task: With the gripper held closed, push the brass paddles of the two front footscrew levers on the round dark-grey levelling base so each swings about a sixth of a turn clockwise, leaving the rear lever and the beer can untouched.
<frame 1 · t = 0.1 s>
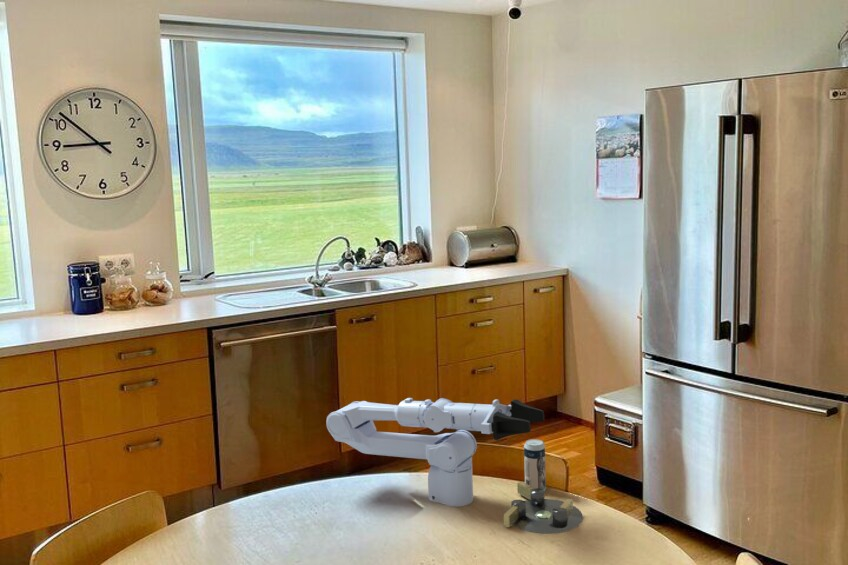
hand: (536, 421, 156), 22 cm above the table, tool horizontal, fingers open, 7 cm apart
rear lever: (530, 493, 166), point 3 cm above the table, hinge at 0.0°
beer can: (535, 493, 172), on the table
outer lever: (563, 512, 156), point 3 cm above the table, hinge at 0.0°
base plate: (543, 520, 159), on the table
inner lever: (514, 513, 156), point 3 cm above the table, hinge at 0.0°
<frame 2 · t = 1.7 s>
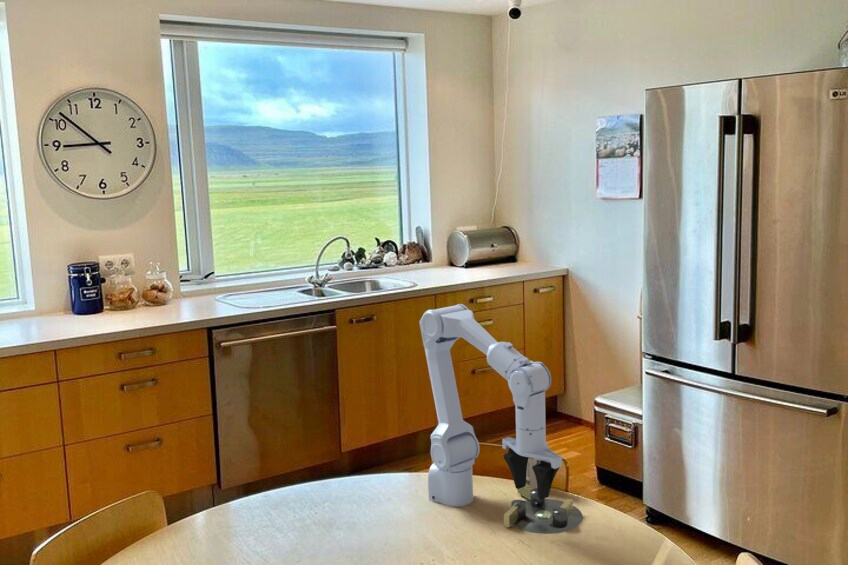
hand: (532, 492, 149), 10 cm above the table, tool pointing down, fingers open, 6 cm apart
nothing on the table moved.
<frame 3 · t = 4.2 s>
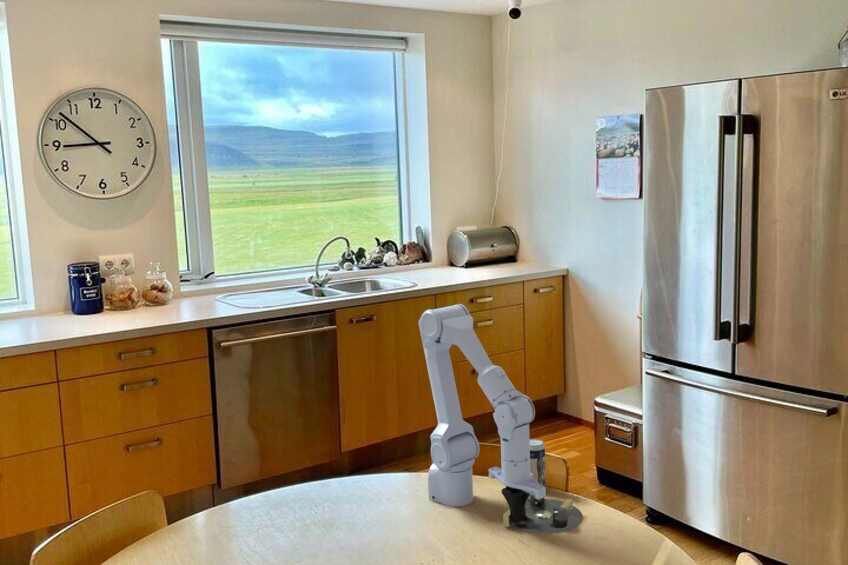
hand: (517, 521, 154), 2 cm above the table, tool pointing down, fingers closed, pressing on inner lever
inner lever: (513, 513, 156), point 3 cm above the table, hinge at -1.1°, touching gripper
everything else where it was.
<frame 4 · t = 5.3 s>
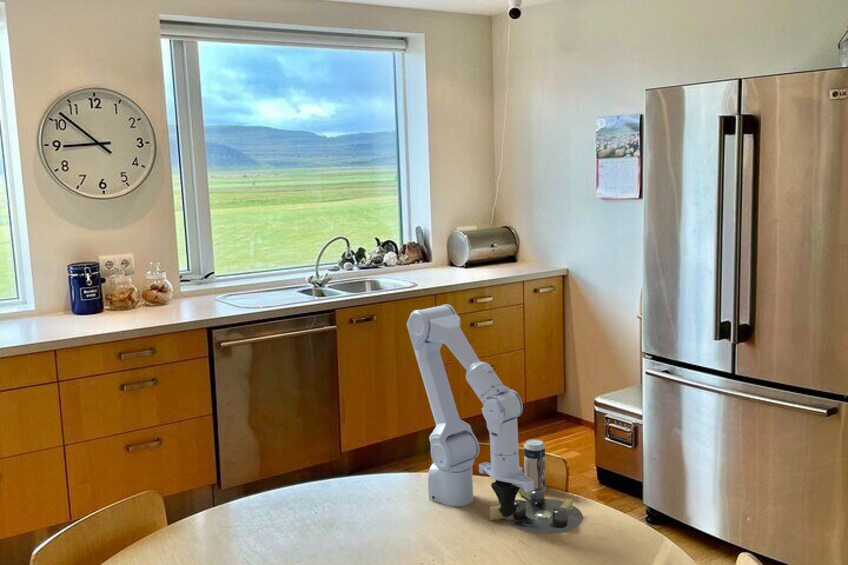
hand: (507, 515, 156), 3 cm above the table, tool pointing down, fingers closed, pressing on inner lever
inner lever: (508, 510, 158), point 3 cm above the table, hinge at -43.9°, touching gripper
everything else where it was.
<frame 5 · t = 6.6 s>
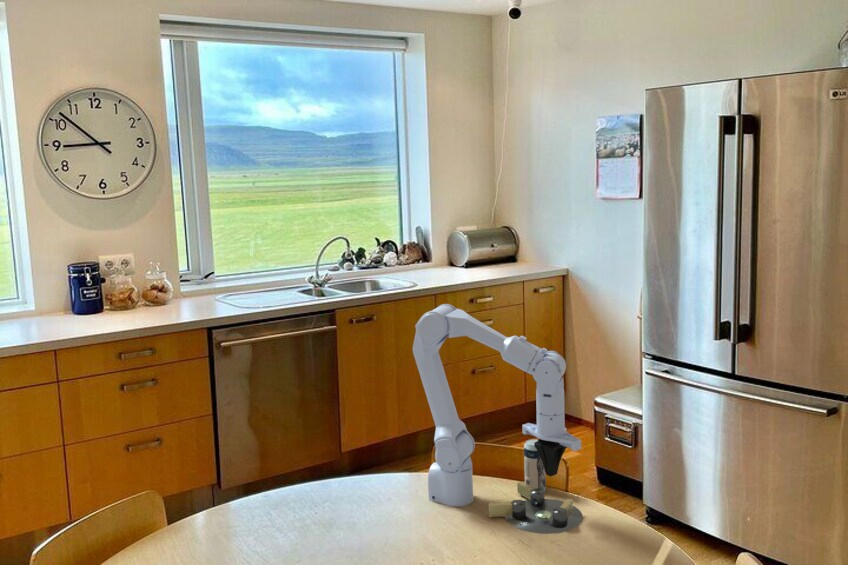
hand: (551, 474, 159), 9 cm above the table, tool pointing down, fingers closed
inner lever: (507, 509, 158), point 3 cm above the table, hinge at -58.4°
everything else where it was.
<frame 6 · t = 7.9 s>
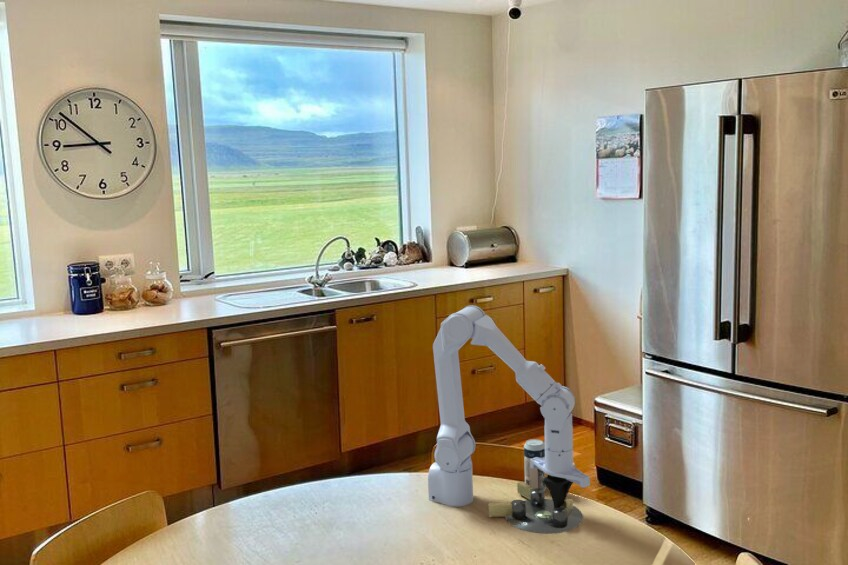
hand: (559, 509, 159), 2 cm above the table, tool pointing down, fingers closed, pressing on outer lever
outer lever: (563, 512, 156), point 3 cm above the table, hinge at -0.1°, touching gripper
inner lever: (507, 509, 158), point 3 cm above the table, hinge at -58.8°
everything else where it was.
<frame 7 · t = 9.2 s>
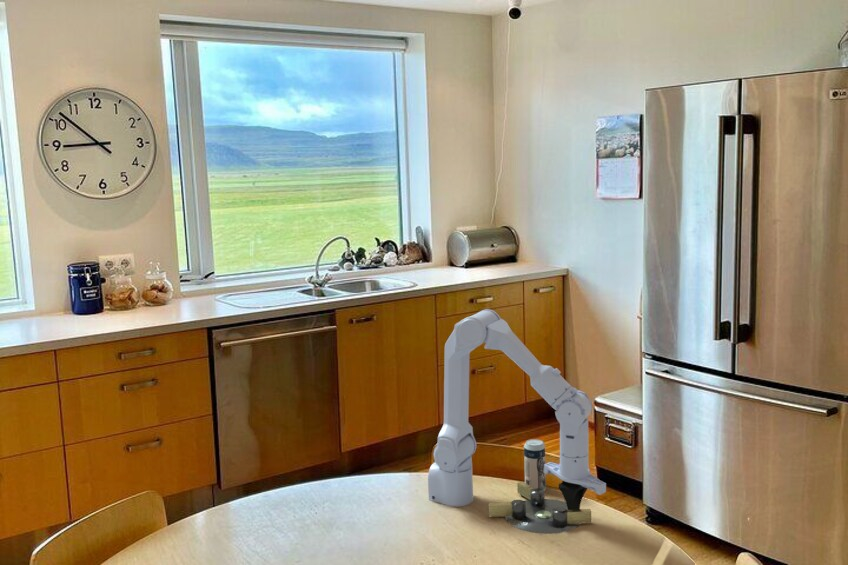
hand: (574, 516, 156), 2 cm above the table, tool pointing down, fingers closed, pressing on outer lever
outer lever: (571, 516, 154), point 3 cm above the table, hinge at -61.0°, touching gripper
everything else where it was.
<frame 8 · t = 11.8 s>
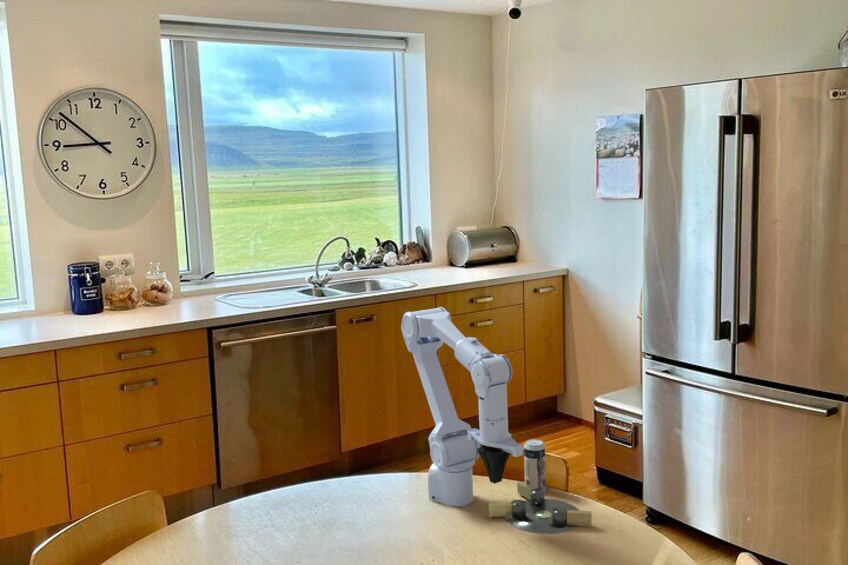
hand: (495, 481, 154), 10 cm above the table, tool pointing down, fingers closed
outer lever: (571, 517, 154), point 3 cm above the table, hinge at -69.8°
everything else where it was.
at the end: inner lever at -59° (first picture: +0°); outer lever at -70° (first picture: +0°) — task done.
